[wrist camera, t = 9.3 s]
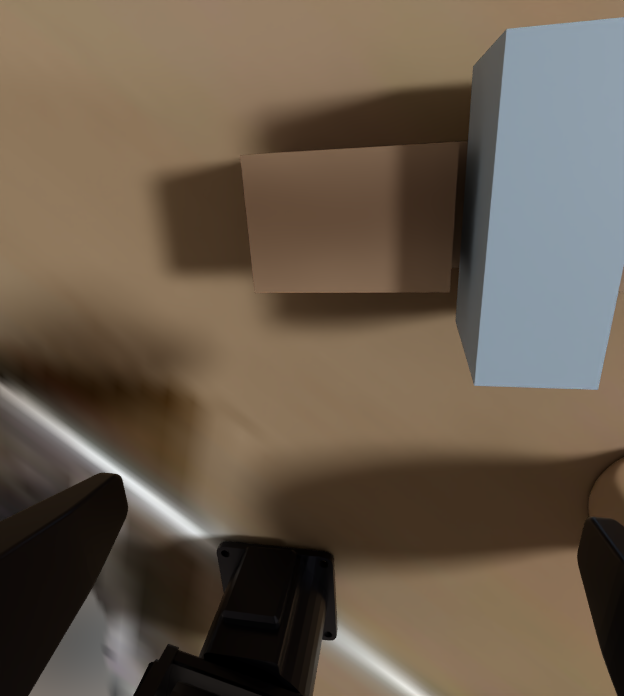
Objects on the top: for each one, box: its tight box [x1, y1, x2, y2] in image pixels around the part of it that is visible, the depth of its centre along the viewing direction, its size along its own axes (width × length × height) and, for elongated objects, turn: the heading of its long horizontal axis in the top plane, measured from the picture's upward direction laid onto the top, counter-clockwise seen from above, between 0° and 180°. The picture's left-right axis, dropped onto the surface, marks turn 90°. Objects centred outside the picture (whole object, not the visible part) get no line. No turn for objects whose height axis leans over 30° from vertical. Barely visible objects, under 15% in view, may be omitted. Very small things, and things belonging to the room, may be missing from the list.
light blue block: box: [456, 17, 624, 390], centre depth 13 cm, size 8×3×5 cm, turn 3°
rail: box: [240, 141, 624, 293], centre depth 15 cm, size 4×16×5 cm, turn 93°
